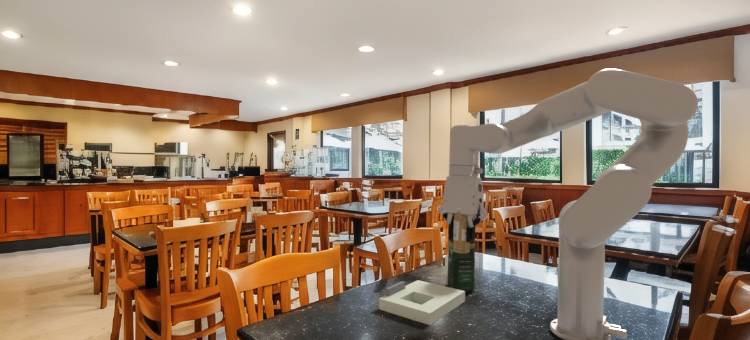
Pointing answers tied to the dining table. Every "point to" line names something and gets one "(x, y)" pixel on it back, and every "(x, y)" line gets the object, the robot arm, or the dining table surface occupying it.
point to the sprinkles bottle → (460, 233)
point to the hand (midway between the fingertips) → (461, 239)
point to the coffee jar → (461, 268)
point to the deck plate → (421, 301)
